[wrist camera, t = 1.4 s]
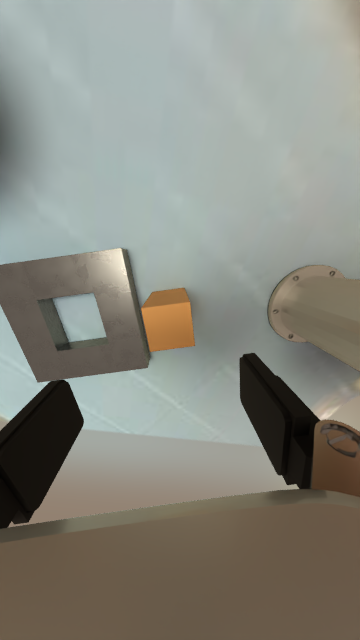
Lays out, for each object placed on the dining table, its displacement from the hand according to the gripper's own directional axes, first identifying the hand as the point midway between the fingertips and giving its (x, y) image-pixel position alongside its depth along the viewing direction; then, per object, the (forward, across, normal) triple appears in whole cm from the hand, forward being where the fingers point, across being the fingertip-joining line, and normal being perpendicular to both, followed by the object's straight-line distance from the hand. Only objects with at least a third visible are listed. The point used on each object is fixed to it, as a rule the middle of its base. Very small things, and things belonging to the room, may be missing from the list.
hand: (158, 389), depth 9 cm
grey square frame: (+19, +13, 0) cm, 24 cm away
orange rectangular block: (+19, -1, 0) cm, 19 cm away
